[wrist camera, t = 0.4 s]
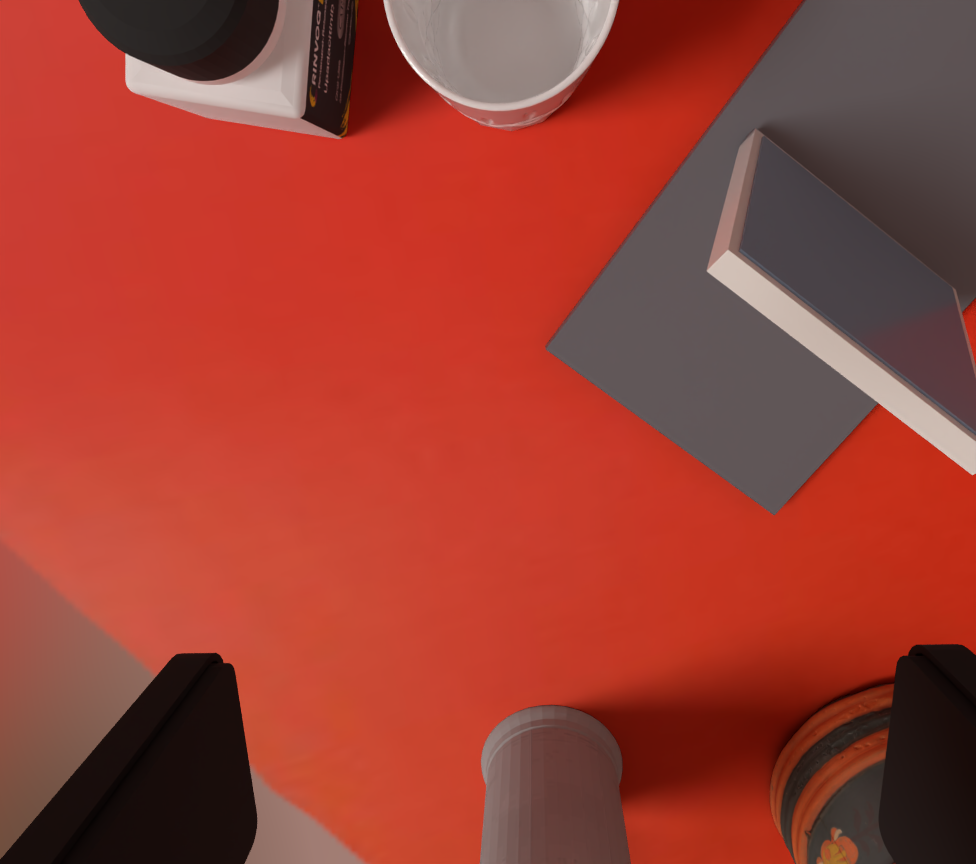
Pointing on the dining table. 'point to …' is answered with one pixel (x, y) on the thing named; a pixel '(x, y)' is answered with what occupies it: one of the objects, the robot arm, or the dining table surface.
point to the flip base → (840, 165)
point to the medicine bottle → (239, 58)
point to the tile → (848, 294)
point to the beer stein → (835, 782)
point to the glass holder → (552, 790)
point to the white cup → (502, 52)
